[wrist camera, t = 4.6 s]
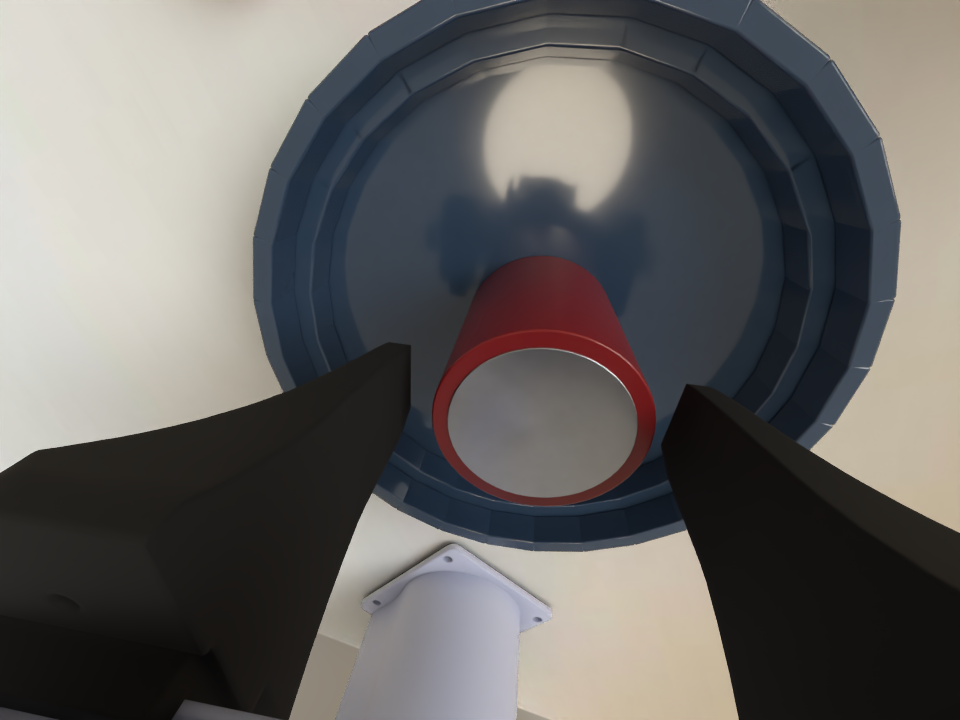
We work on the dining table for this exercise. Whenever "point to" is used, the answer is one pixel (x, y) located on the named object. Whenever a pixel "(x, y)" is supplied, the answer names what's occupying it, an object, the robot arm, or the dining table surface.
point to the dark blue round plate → (584, 222)
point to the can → (543, 389)
